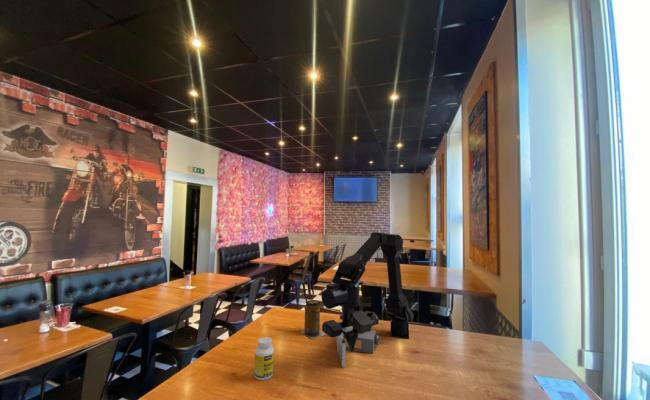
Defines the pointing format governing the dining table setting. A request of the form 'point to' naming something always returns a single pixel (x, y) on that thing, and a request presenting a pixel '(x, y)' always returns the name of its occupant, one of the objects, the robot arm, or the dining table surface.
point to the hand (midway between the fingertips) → (351, 350)
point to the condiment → (312, 320)
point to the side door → (341, 349)
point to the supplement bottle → (264, 359)
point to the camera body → (365, 342)
